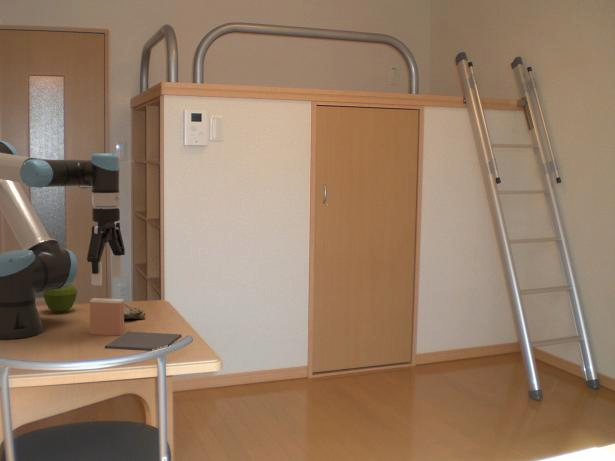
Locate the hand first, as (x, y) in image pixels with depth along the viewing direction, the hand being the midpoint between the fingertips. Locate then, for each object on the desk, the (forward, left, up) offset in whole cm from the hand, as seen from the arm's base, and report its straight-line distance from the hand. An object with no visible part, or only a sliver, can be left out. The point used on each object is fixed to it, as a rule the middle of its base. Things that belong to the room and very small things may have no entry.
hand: (107, 281), depth 200 cm
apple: (-27, +24, -16) cm, 39 cm away
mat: (+14, -7, -15) cm, 22 cm away
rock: (-2, +19, -16) cm, 25 cm away
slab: (0, 0, -15) cm, 15 cm away
